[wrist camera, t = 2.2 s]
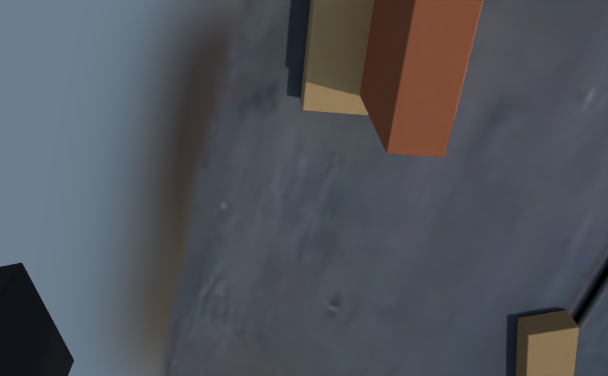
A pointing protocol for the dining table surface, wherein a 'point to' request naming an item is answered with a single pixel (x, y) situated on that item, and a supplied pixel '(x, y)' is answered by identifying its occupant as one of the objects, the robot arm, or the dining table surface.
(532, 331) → the base pad
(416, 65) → the open box
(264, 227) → the dining table surface
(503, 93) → the dining table surface
